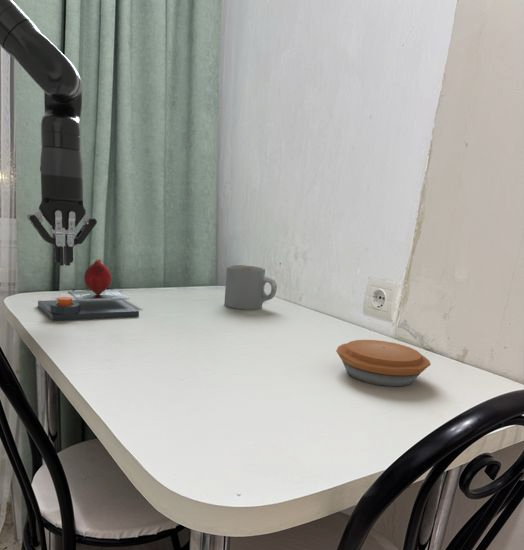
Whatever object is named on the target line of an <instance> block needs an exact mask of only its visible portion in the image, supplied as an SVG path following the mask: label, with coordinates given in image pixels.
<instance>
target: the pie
mask: <svg viewBox="0 0 524 550" xmlns="http://www.w3.org/2000/svg"><path fill="white" fill-rule="evenodd" d="M335 351H336V353H337V355H338V356H339V359H340V360H341V362H342V364H343V366H344V369H345V371H346V372H347V374H348V375H350V377H353V378H354V379H356V380H358V381H362V382H364V383H367V384H371V385H376V386H382V387H383V386H384V387H404V386H407V385H411V384H412V383H413V382H414V381H415V380H416V379H417V378H418V377H419V376H420V375H421V374H422V373H423V372H424V371H425V370H427V368H429V367H430V366H431V362H430V359H428V358H427V357H426V356H424V354H423V355H422V353H420V352H419V351H418V350H416V349H414V348H412V347H410V346H408V345H407V346H406V345H404V344H400V343H396V342H391V341H386V340H377V339H356V340H351V341H349V342H347V343H342V344H340V345H339V346H337V348H336V350H335Z"/></svg>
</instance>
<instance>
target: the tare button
mask: <svg viewBox="0 0 524 550" xmlns="http://www.w3.org/2000/svg"><path fill="white" fill-rule="evenodd" d="M56 300H57V304H58V305H60V306H70V305H72V300H73V298H72V297H69V296H59V297H57V298H56Z"/></svg>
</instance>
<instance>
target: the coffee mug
mask: <svg viewBox="0 0 524 550" xmlns="http://www.w3.org/2000/svg"><path fill="white" fill-rule="evenodd" d="M225 275H226V276H225V286H224V287H225V289H224V302H223V303H224V306H225V307H227V308H231V309H235V310H236V309H237V310H246V311H248V310H249V311H252V310H253V311H254V310H261V309H262V308H263V307H262V306H263V303H264V302H266V301H270V300H272V299H273V298H275V296H276V294H277V282H276V280H275V278H272V277H269V276H266V269H265V268H263V267H259V266H254V265H245V264H229V265H227V266H226V273H225ZM266 283H269V285H270V287H271V289H270V293H268V294H267V293H266V292H265V291H266V290H265V285H266Z"/></svg>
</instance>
